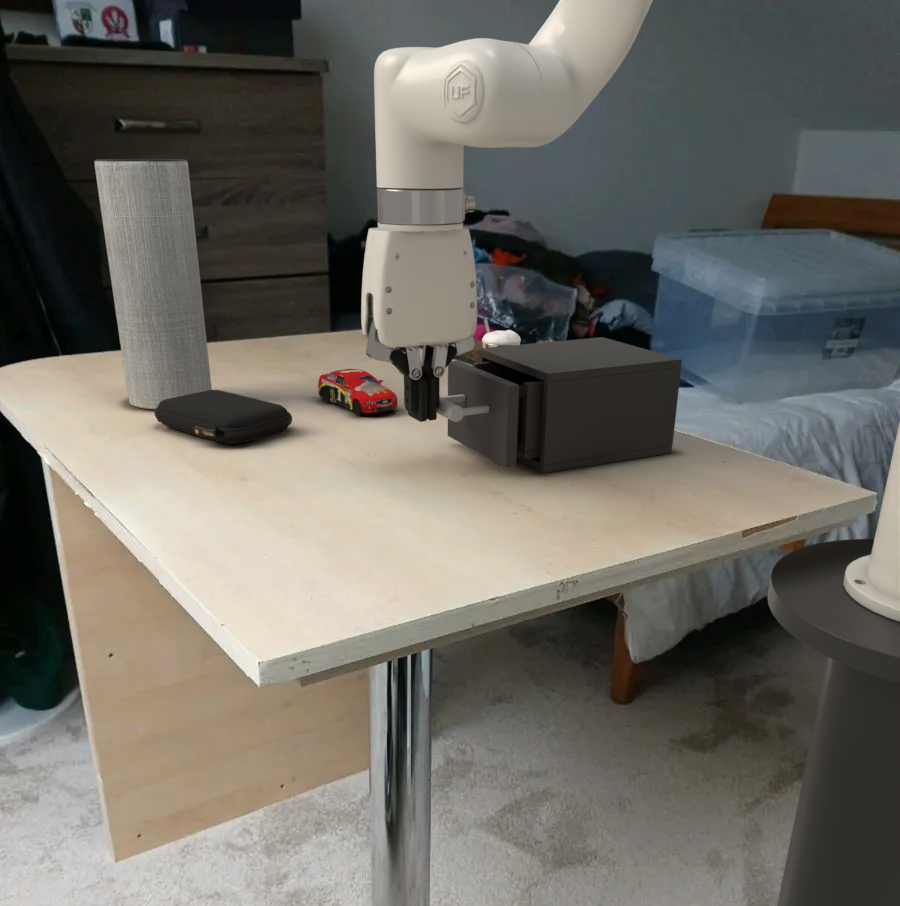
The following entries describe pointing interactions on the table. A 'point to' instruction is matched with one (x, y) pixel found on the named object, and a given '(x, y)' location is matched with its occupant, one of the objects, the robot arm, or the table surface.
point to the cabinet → (597, 400)
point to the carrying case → (223, 416)
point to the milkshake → (499, 338)
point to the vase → (154, 277)
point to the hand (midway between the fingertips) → (422, 417)
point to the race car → (356, 391)
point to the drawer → (493, 410)
